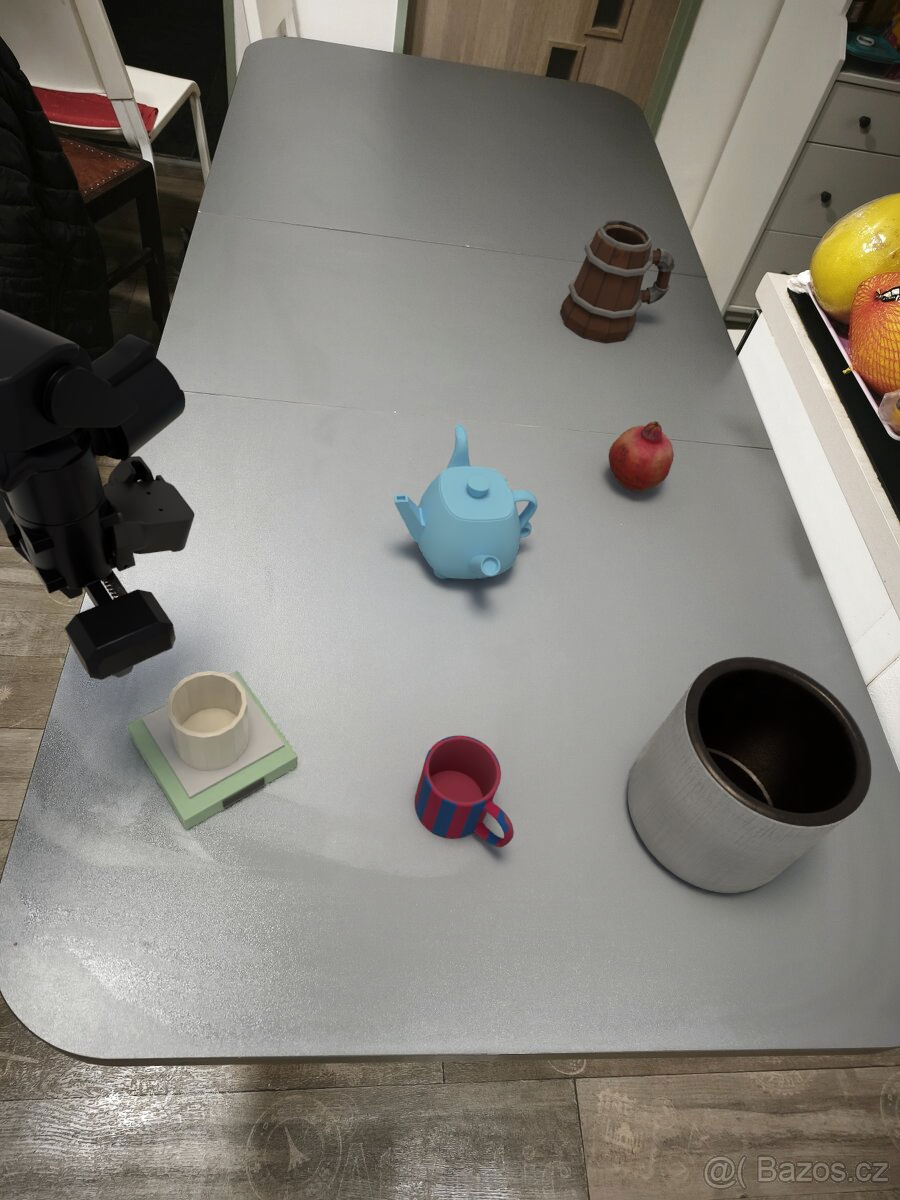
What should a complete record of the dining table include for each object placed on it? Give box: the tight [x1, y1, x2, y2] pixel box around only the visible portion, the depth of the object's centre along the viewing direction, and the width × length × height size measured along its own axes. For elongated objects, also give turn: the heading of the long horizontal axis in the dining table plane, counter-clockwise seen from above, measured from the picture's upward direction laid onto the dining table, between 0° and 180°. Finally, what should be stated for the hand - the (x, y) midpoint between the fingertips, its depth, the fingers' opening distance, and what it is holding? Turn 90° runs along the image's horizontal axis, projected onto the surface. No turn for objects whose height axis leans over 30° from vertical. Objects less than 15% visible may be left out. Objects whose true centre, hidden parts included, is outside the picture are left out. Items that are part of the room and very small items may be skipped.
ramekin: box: [166, 670, 249, 771], centre depth 71 cm, size 6×6×6 cm
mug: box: [559, 218, 676, 344], centre depth 126 cm, size 16×12×15 cm
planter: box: [627, 656, 872, 894], centre depth 72 cm, size 16×16×16 cm
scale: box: [126, 670, 299, 831], centre depth 74 cm, size 11×11×2 cm
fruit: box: [608, 420, 675, 492], centre depth 104 cm, size 8×8×10 cm
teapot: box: [393, 423, 538, 580], centre depth 91 cm, size 15×14×11 cm
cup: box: [414, 735, 515, 848], centre depth 72 cm, size 7×10×7 cm
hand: (99, 633), depth 66 cm, fingers open, 9 cm apart
